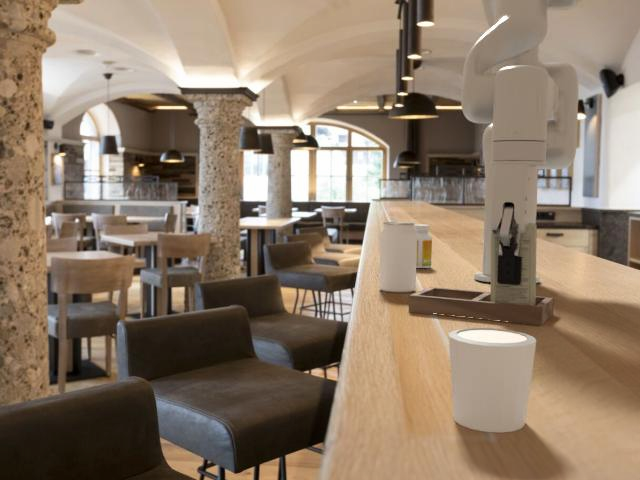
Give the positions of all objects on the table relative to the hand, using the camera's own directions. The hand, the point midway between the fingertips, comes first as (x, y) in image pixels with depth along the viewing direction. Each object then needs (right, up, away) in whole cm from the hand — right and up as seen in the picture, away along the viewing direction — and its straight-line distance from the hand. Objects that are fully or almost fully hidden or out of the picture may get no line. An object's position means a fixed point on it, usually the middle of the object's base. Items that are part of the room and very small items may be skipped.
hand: (513, 280), depth 102 cm
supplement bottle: (-6, -1, +58) cm, 58 cm away
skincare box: (0, -4, 0) cm, 4 cm away
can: (-14, -3, +23) cm, 27 cm away
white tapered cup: (-14, -9, -45) cm, 48 cm away
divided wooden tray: (-4, -5, +2) cm, 7 cm away
